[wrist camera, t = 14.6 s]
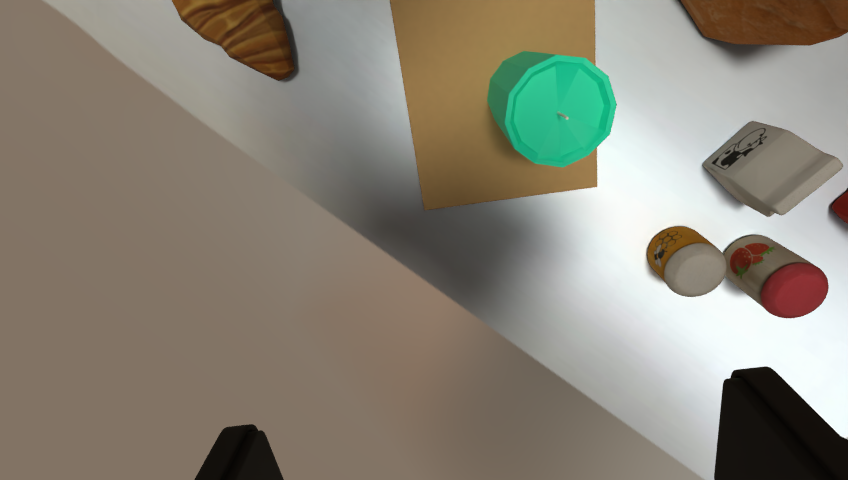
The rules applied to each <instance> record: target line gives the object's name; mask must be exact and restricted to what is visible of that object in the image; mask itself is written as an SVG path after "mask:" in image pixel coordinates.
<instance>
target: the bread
mask: <svg viewBox="0 0 848 480" xmlns="http://www.w3.org/2000/svg"><path fill="white" fill-rule="evenodd" d="M681 2H682V3H683V5H684V6H685V8H686V9H687V11H688V12H689V14H690V15H691V17H692V19H693V20H694V22H695V23H696V25H697V26H698V28H699V29H700V31H701V32H702V34H703V36H705V37H709V38H712V39H716V40H720V41H724V42H728V43H732V44H764V45H813V44H816V43H820V42H823V41H827V40H830V39H834V38H837V37H840V36H842V35H843V34H845V33H847V32H848V0H681Z"/></svg>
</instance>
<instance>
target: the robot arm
mask: <svg viewBox="0 0 848 480" xmlns="http://www.w3.org/2000/svg"><path fill="white" fill-rule="evenodd" d="M714 479H715V480H848V440H847V439H845V438H843V437H841V436H840V435H839V434H838V433H837V432H836V431H835V430H834V429H833V428H832V427H831V426H830V425H829V424H828V423H826V422H825V421H824V420H823V419H822V418H821V417H820V416H819V415H818V414H817V413H816V412H815V411H814V410H813V409H812V408H811V407H810V406H809V405H808V404H807V403H806V402H805V401H804V400H803V399H802V398H801V397H800V396H799V395H798V394H797V393H796V392H795V391H794V390H793V389H792V388H791V387H790V386H789V385H788V384H787V383H786V382H785V381H784V380H783V379H782V378H781V377H780V376H779V375H778V374H777V373H776V372H775V371H774V370H773V369H771V368H769V367H758V368H749V369H740V370H734V371H733V372H732V375H731V378H730V379H725V381H724V383H723V391H722V401H721V412H720V422H719V432H718V443H717V453H716V464H715V474H714ZM195 480H284V479H283V477H282V475H281V472H280V470H279V467H278V465H277V462H276V460H275V457H274V455H273V452H272V450H271V447H270V445H269V442H268V440H267V437H266V435H265V433H264V432H263V431H258V429H257V428H256V426H255V425H252V424H251V425H241V426H232V427H226V428H224V429H223V430H222V432H221V433H220V435H219V437H218V438H217V440H216V442H215V444H214V445H213V447H212V449H211V451H210V453H209V455H208V456H207V458H206V460H205V462H204V464H203V465H202V467H201V469H200V471H199V473H198V474H197V476H196V478H195Z"/></svg>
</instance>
